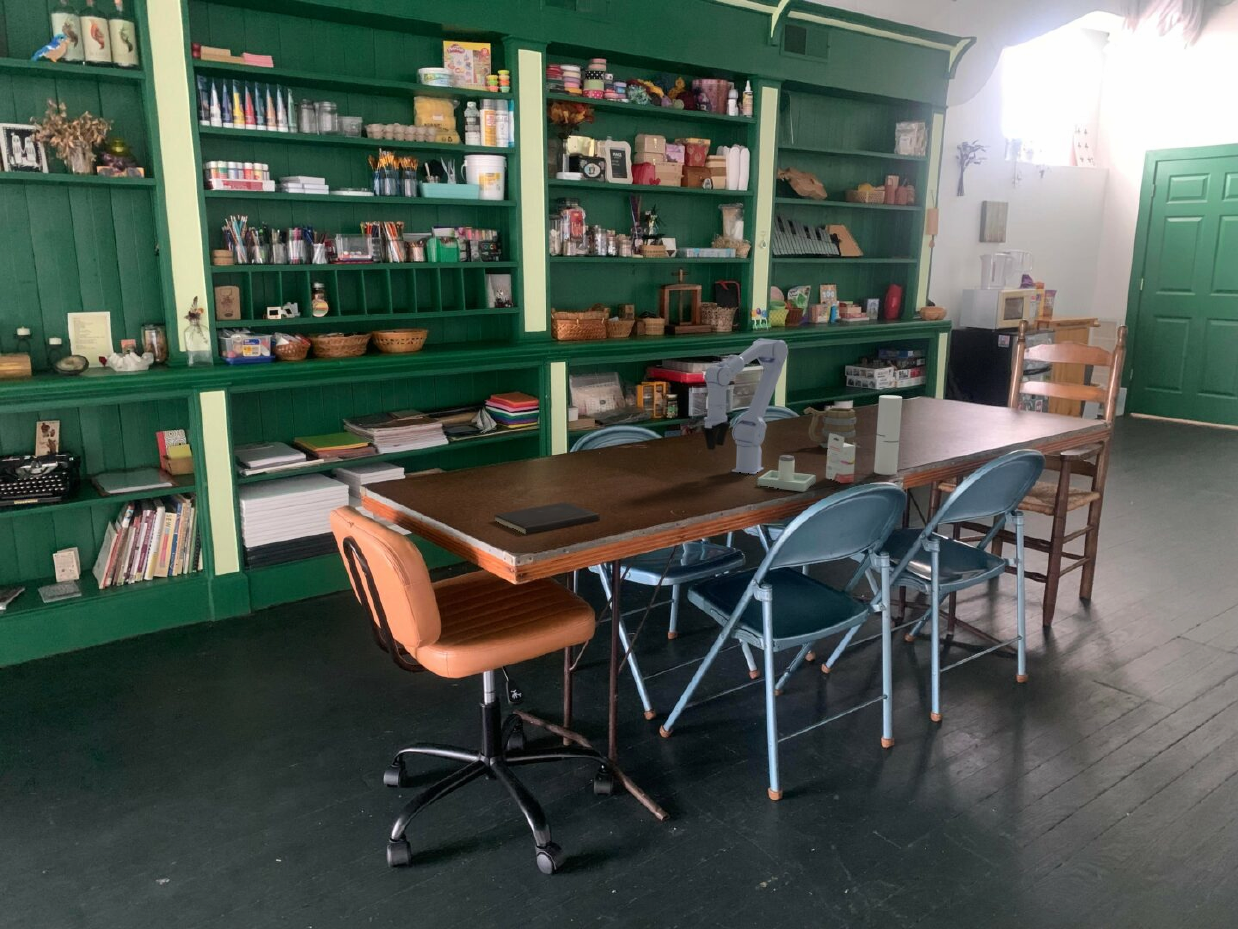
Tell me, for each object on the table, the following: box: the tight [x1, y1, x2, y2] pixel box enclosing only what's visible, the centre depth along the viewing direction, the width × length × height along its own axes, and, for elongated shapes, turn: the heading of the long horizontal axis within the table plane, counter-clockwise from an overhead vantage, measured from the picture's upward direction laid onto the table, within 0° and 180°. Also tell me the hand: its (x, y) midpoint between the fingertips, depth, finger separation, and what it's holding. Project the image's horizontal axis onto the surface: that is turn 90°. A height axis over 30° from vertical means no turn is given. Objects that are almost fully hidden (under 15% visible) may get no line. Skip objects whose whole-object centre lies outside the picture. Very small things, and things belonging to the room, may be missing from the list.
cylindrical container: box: [873, 394, 903, 476], centre depth 305 cm, size 7×7×25 cm
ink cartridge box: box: [825, 433, 856, 484], centre depth 295 cm, size 9×5×15 cm, turn 23°
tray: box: [757, 470, 817, 493], centre depth 289 cm, size 13×15×2 cm
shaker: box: [777, 454, 795, 482], centre depth 289 cm, size 5×5×8 cm
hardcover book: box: [493, 501, 601, 535], centre depth 248 cm, size 16×23×2 cm
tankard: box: [803, 406, 858, 449], centre depth 347 cm, size 20×13×15 cm, turn 92°
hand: (715, 447), depth 296 cm, fingers open, 7 cm apart
